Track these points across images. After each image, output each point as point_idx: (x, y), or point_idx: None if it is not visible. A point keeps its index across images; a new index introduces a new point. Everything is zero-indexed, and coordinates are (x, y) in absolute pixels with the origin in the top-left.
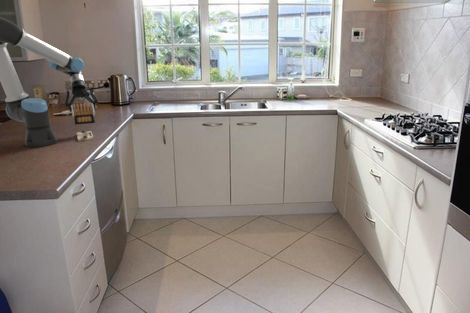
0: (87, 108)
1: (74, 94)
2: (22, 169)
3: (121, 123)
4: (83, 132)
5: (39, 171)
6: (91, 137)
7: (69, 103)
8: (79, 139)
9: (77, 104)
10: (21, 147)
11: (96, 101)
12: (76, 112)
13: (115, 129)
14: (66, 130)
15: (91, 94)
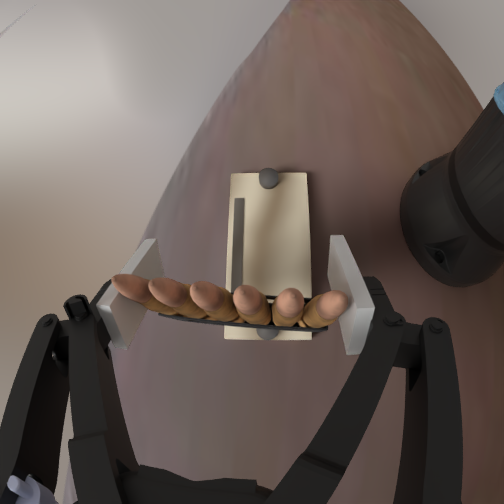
0: (184, 285)
1: (321, 487)
2: (400, 22)
3: None
4: None
5: (362, 4)
6: (241, 173)
7: (397, 330)
8: (298, 174)
9: (288, 288)
10: None
11: (53, 318)
12: (307, 306)
13: None
14: (351, 482)
15: (25, 420)
